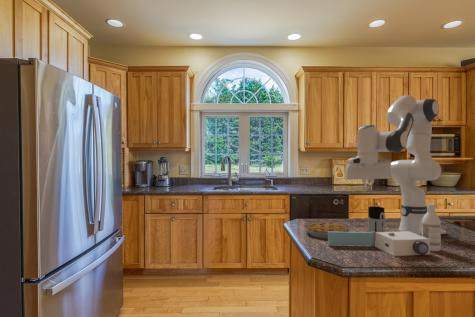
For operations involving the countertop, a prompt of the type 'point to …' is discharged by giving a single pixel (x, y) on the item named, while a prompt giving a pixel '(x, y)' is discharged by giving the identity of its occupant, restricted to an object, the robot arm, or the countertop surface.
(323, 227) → the pie
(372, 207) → the grey mug
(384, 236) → the knobbed cream box
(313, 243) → the countertop surface
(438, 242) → the bath foam
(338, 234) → the side door
